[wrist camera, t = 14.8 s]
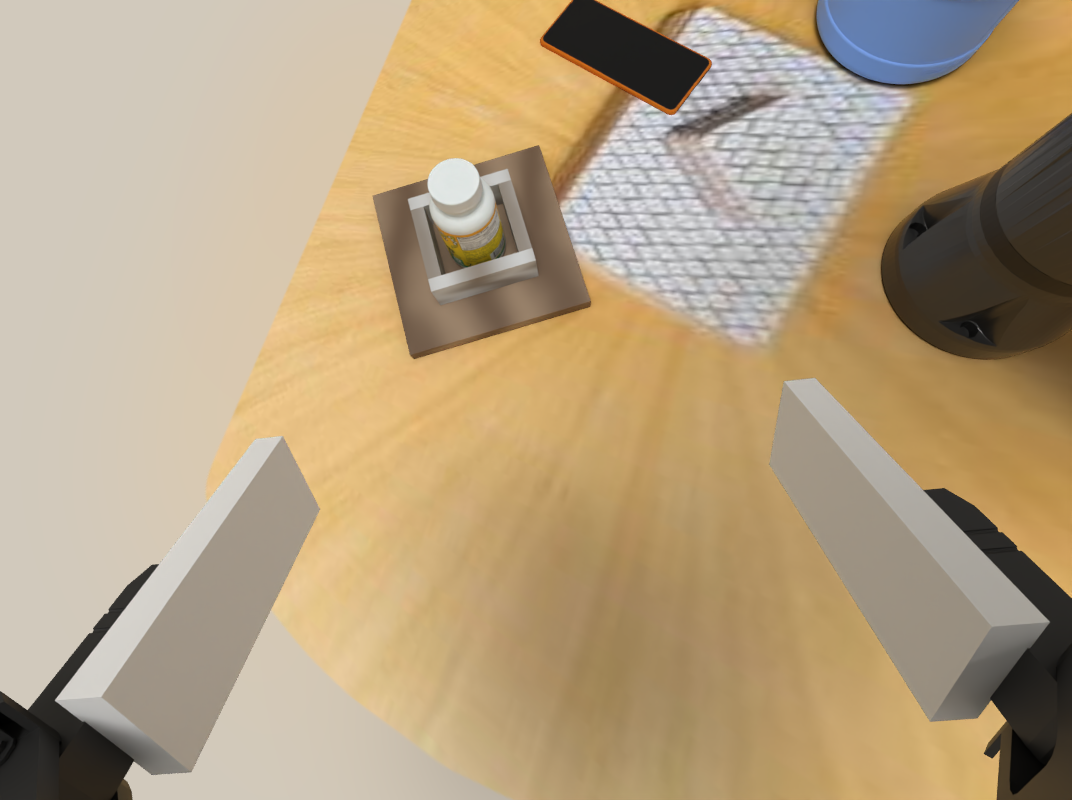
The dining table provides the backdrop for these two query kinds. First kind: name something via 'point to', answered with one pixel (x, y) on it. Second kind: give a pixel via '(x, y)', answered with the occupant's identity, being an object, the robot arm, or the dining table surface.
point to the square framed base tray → (488, 288)
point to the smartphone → (626, 54)
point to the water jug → (907, 35)
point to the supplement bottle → (465, 213)
